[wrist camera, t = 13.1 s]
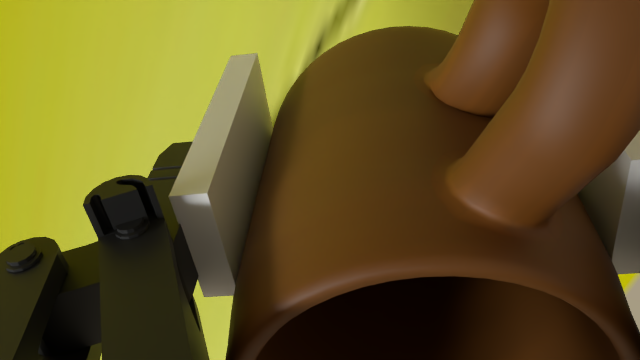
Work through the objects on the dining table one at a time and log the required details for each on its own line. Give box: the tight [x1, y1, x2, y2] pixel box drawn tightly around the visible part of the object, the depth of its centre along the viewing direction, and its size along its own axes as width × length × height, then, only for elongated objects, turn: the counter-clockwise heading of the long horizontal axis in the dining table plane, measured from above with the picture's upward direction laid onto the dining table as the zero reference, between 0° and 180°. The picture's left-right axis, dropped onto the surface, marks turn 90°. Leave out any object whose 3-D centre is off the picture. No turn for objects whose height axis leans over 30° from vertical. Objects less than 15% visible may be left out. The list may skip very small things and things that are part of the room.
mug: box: [226, 0, 640, 360], centre depth 13 cm, size 12×8×9 cm, turn 166°
